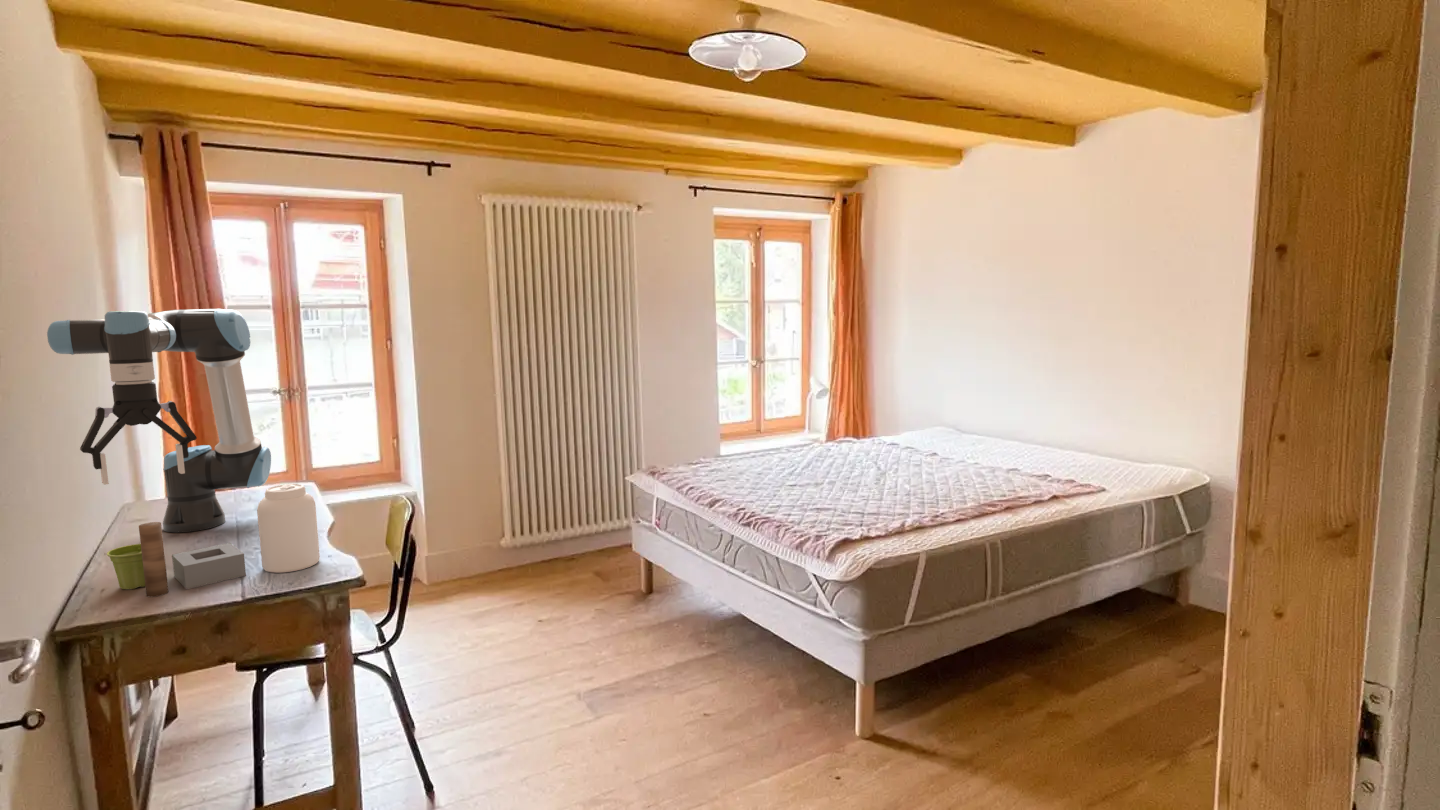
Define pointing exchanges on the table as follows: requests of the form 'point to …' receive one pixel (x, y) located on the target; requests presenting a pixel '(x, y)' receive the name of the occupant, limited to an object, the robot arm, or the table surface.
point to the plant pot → (128, 566)
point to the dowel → (153, 559)
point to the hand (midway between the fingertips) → (144, 478)
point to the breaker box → (208, 565)
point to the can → (288, 529)
